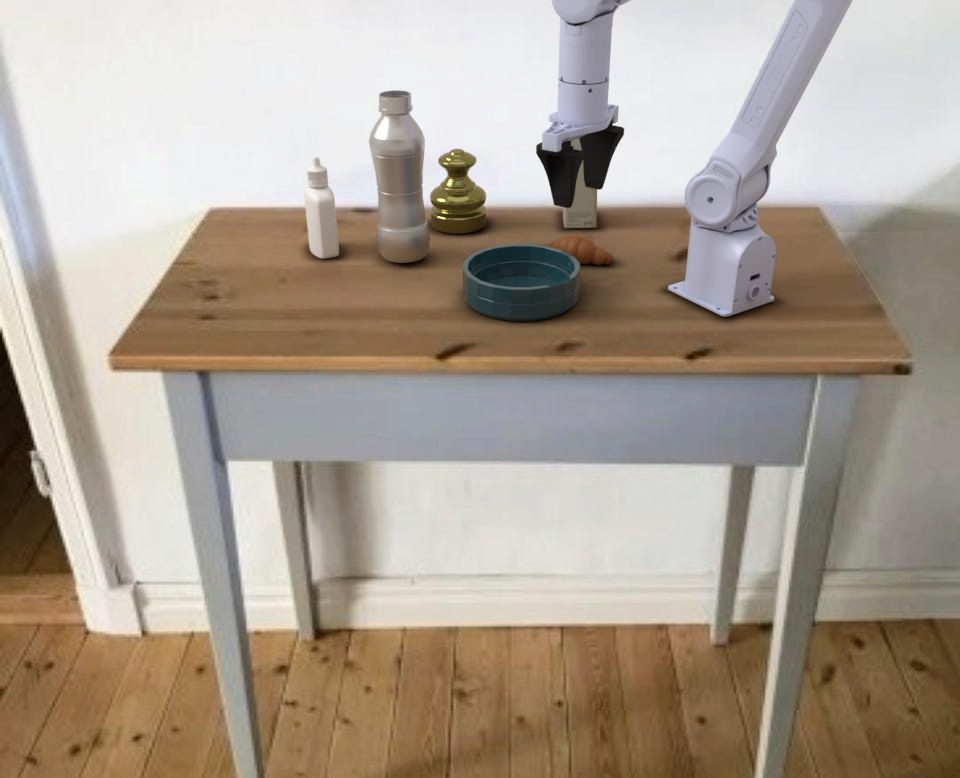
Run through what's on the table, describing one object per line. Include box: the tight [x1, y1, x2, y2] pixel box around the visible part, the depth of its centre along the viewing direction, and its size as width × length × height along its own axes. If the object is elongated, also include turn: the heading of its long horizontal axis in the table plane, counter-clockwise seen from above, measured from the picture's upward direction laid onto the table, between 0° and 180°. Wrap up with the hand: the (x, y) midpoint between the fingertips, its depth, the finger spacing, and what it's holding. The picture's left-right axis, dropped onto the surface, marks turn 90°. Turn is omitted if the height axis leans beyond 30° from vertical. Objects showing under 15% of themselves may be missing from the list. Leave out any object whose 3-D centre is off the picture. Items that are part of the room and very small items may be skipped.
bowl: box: [462, 243, 581, 322], centre depth 122 cm, size 13×13×4 cm
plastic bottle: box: [368, 89, 431, 264], centre depth 128 cm, size 6×7×20 cm
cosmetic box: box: [562, 138, 598, 229], centre depth 140 cm, size 6×4×12 cm
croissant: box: [550, 233, 614, 266], centre depth 131 cm, size 4×8×3 cm, turn 56°
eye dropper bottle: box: [303, 156, 340, 260], centre depth 132 cm, size 4×6×12 cm
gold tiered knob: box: [429, 148, 487, 235], centre depth 140 cm, size 7×7×10 cm
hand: (578, 196), depth 127 cm, fingers open, 7 cm apart
